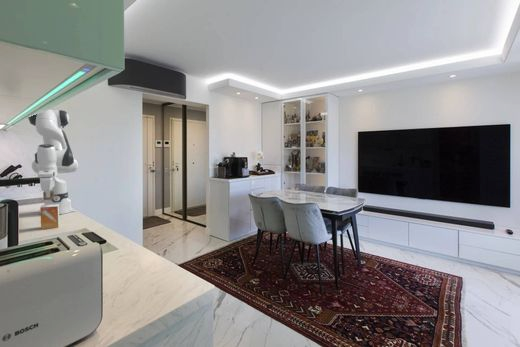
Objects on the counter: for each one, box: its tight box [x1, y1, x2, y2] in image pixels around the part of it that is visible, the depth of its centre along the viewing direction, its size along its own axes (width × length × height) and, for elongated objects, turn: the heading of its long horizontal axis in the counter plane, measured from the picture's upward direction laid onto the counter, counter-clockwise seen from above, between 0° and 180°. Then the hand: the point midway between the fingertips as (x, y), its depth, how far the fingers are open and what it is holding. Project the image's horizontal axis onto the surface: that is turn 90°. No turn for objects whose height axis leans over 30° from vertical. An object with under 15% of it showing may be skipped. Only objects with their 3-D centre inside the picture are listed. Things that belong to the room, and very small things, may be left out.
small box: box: [39, 204, 60, 230], centre depth 153 cm, size 8×6×13 cm
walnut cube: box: [42, 191, 55, 201], centre depth 152 cm, size 4×4×4 cm
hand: (49, 196), depth 152 cm, fingers closed on walnut cube, 4 cm apart
